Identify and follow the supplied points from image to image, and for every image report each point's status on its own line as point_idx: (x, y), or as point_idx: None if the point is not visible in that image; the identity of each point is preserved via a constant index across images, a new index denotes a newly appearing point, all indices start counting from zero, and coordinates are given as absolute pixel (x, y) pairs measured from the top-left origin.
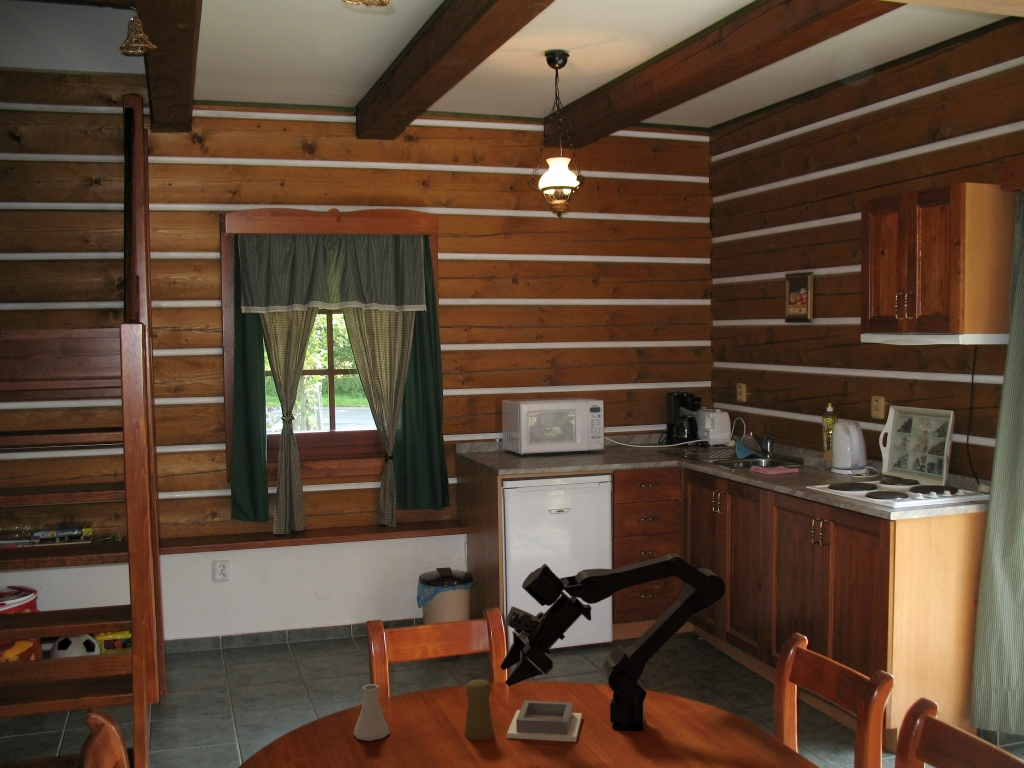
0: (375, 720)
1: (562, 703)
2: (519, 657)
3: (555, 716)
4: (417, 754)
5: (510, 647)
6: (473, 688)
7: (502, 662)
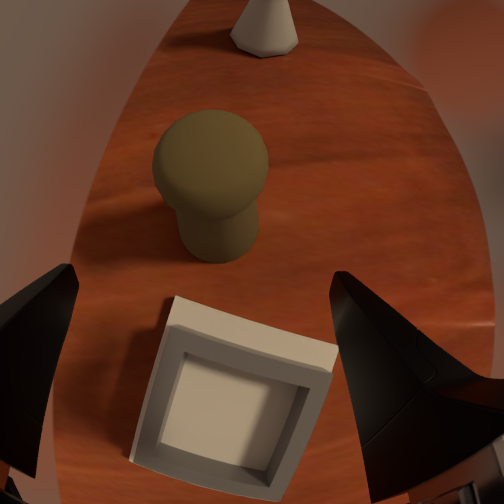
0: (247, 17)
1: (280, 479)
2: (364, 409)
3: (269, 446)
4: (149, 95)
5: (444, 351)
6: (166, 130)
7: (356, 283)
